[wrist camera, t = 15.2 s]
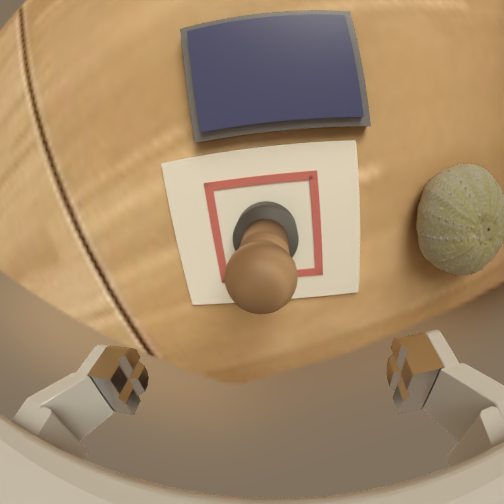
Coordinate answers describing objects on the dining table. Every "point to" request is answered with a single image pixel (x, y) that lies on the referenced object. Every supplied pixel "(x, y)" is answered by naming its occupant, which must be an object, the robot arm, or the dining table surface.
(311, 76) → the ink pad
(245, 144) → the dining table surface
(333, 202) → the sheet
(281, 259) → the stamp
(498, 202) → the sea urchin shell
